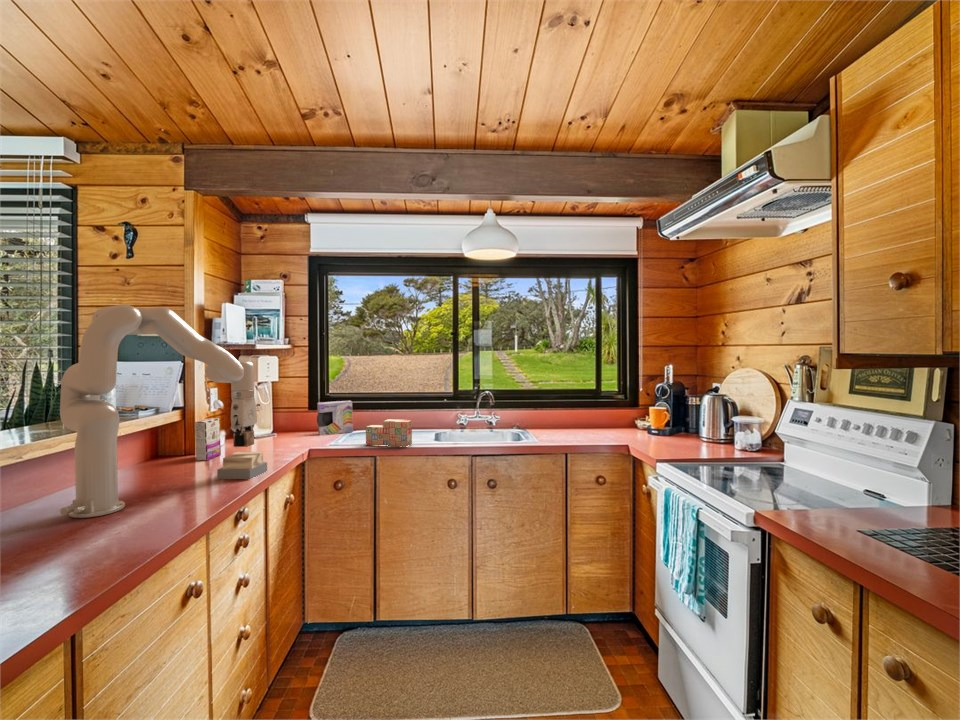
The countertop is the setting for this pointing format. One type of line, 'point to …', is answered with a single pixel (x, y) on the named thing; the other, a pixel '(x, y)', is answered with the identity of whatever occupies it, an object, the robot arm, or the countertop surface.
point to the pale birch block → (243, 460)
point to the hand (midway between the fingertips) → (244, 444)
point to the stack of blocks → (390, 433)
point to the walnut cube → (246, 438)
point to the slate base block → (241, 472)
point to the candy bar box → (207, 439)
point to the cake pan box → (335, 417)
